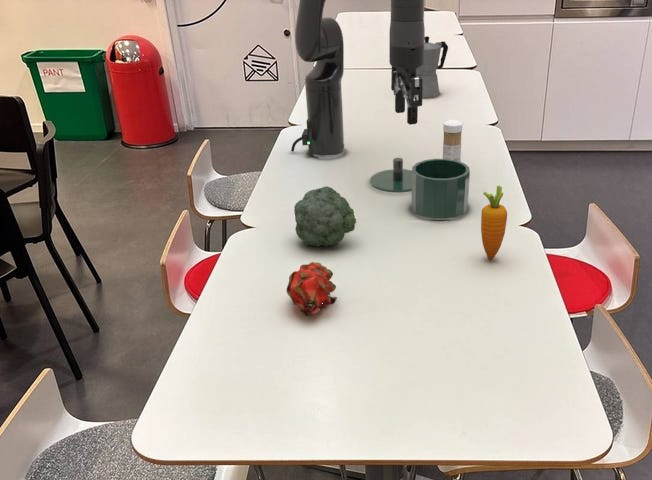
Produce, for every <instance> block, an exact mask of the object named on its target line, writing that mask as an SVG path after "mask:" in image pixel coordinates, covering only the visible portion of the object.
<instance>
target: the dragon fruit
mask: <svg viewBox="0 0 652 480" xmlns="http://www.w3.org/2000/svg"><path fill="white" fill-rule="evenodd" d="M333 275H334V273H333V271H332V270H331V269H329V268H327V267H326V266H325V265H323V264H322V263H320V262H318V261H317V262H314V261H311V262H309V263H308V264H307V263H306V264H305V263H304V264H301V265H300V266H299V269H298V270H295V271H293V272H291V274H290V275H289V276H288V283H287V286H286V294H287V295H288V296H289V298H290V300H291V302H292V303H293V305H295V306H296V307H297V308H298V309H299V310H300V312H301V314H302V315H304V316H306V317H308V314H312V315H316V314H317V312H318V313H320V311H321V310H319V309H320V307H322V308H325V307H327V306H330V305H335V303H336V302H337V300H338V296H331V293H333V292H334V291H335V290H336V289H337V285H336V284H334V283H333V282H332V281H331V279H332V278H333ZM322 303H323V304H322Z"/></svg>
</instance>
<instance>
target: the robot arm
mask: <svg viewBox="0 0 652 480" xmlns="http://www.w3.org/2000/svg"><path fill="white" fill-rule="evenodd" d="M298 2H299V3H298V8H297V15H296V22H295V28H294V29H295V30H294V31H295V32H294V44H295V45H294V46H295V49H296V52H297V54H298V56H299V58H300V60H302V61H304V62H306V63H315V64H314V66H313V68H312V69H311V70H310V71H309V72H308V73H307V74H306V75H305V78H304V85H305V86H304V87H305V99H306V112H307V118H306V128H304V129H303V131H302V133H301V136H300V137H299V138H296V139H295V140H294V142H293V143H292V145H291V149H290V151H291V152H292V153H294V152H295V148H296V145H297V144H298V143H299V142H301V143H302V146H308V157H313V158H317V159H318V158H334V157H338V156H341V155H343V154H344V153H345V151H346V149H345V137H344V136H345V135H344V133H345V132H344V116H343V115H344V113H343V93H342V92H343V91H342V80H343V78H344V77H343V76H344V72H345V71H344V69H345V68H344V67H345V66H344V65H345V64H344V59H345V58H344V57H345V53H344V51H345V49H344V48H345V47H344V46H345V45H344V43H345V42H344V36H343V31H342V28H341V26H340V24H339V22H338V21H337V20H336V19H335V18H333V17H329V16H326V17H325V16H324V9H325V5H326V2H327V0H299V1H298ZM323 16H324V17H323ZM389 22H390V23H389V31H388V33H389V37H388V39H389V43H388V44H389V53H388V55H389V60H388V61H389V65H390V67H391V76H390V77H391V80H390V81H391V82H390V83H391V85H390V89H391V91H392V92H393V96H394V111H395V113H396V114H403V113H405V111H406V123H407V124H408V125H409V126H410V125H416V124H417V123H418V115H419V113H418V111H419V107H422V106H423V98H422V81H423V80H422V77H418V76H417V73H416V69H417V68H418V67H421V66H422V65H423V64H424V42H425V37H426V35H425V34H426V31H425V30H426V28H425V27H426V26H425V0H390V21H389ZM406 105H407V107H406Z"/></svg>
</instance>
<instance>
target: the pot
mask: <svg viewBox="0 0 652 480" xmlns="http://www.w3.org/2000/svg"><path fill="white" fill-rule="evenodd" d="M411 170H412V191H411V210H412V211H413V212H414V213H415V214H416V215H418V216H421V217H422V218H428V219H431V221H432V222H447V221H448V222H449V219H453V218H457V217H460V216H462V215H464V214H465V213H466V212H467V211H468V208H469V207H468V206H469V193H470V192H469V189H470V173H471V170H470V167H469V166H468V165H467V164H466V163H465V162H463V161H460V162H459V161H456V160H450V159H443V158H431V159H425V160H421V161H419V162H416V163H414V165H412V167H411Z"/></svg>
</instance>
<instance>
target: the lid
mask: <svg viewBox="0 0 652 480" xmlns="http://www.w3.org/2000/svg"><path fill="white" fill-rule="evenodd" d="M369 181H370V185H371V186H372V187H374V188H375V189H377V190H380V191H383V192H388V193H389V192H390V193H406V192H412V169H404V159H403V158H402V157H393V159H392V169H386V170H382V171H378V172H376V173H374V174H373V175H372V176H371V177H370V178H369Z"/></svg>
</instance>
